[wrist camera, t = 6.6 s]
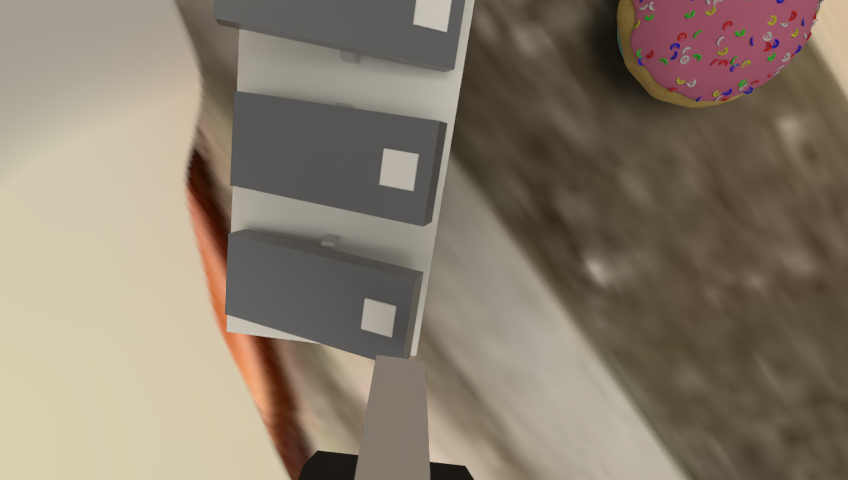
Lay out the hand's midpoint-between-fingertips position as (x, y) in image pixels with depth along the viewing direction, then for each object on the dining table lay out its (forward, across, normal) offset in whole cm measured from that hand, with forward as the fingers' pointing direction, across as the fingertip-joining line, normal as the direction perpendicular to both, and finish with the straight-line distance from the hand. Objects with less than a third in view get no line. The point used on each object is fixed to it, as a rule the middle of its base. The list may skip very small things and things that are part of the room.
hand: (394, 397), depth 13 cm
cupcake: (+14, +12, +16) cm, 24 cm away
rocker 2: (+6, -4, +7) cm, 10 cm away
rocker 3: (+7, -4, 0) cm, 8 cm away
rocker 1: (+6, -4, +13) cm, 15 cm away
